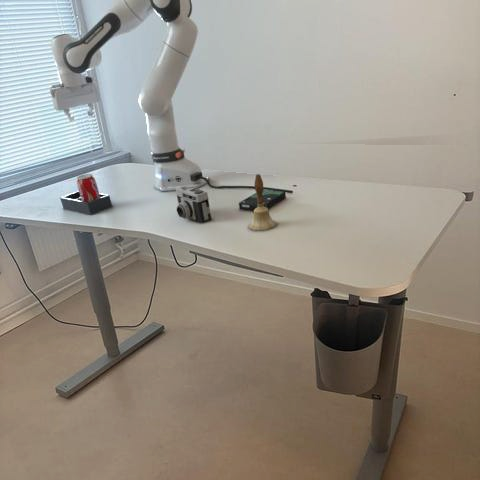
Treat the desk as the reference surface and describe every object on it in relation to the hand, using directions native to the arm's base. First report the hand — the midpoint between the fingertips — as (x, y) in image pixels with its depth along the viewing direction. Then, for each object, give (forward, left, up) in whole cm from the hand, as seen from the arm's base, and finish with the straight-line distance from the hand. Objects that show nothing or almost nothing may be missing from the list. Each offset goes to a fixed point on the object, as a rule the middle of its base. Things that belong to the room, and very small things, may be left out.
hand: (81, 118), depth 204 cm
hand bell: (-87, +48, -29) cm, 103 cm away
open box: (-10, +26, -29) cm, 40 cm away
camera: (-60, +41, -29) cm, 78 cm away
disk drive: (-82, +28, -29) cm, 91 cm away
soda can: (-14, +28, -29) cm, 42 cm away
